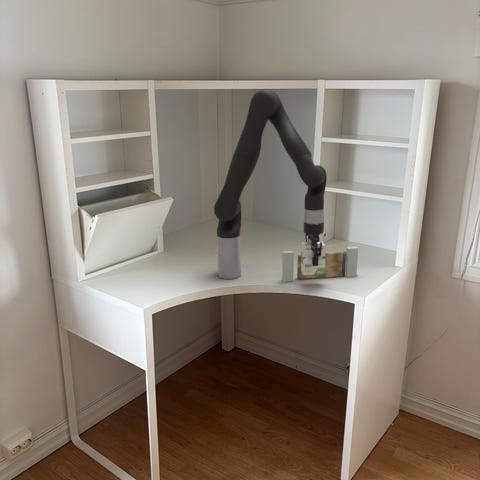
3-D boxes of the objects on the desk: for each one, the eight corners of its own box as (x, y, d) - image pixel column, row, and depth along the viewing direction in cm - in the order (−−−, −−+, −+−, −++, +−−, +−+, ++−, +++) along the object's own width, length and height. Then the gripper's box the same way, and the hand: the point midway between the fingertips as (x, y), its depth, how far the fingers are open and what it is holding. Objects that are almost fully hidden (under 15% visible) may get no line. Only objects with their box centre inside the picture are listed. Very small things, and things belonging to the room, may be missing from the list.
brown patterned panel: (297, 278, 196) (298, 255, 192) (296, 276, 198) (297, 253, 195) (345, 276, 198) (346, 252, 194) (343, 273, 200) (344, 250, 197)
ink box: (322, 269, 191) (323, 240, 187) (325, 274, 186) (326, 245, 183) (300, 270, 191) (300, 241, 187) (302, 275, 186) (303, 245, 182)
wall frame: (283, 281, 194) (283, 253, 190) (282, 279, 196) (282, 251, 192) (356, 276, 198) (358, 248, 194) (354, 274, 200) (356, 246, 196)
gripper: (298, 215, 188) (298, 257, 193) (309, 226, 175) (308, 270, 180) (317, 214, 189) (316, 255, 195) (329, 224, 176) (328, 268, 181)
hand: (312, 262), depth 187 cm, fingers closed on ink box, 5 cm apart
